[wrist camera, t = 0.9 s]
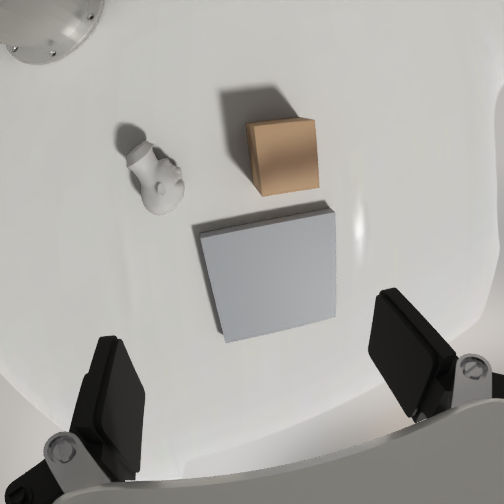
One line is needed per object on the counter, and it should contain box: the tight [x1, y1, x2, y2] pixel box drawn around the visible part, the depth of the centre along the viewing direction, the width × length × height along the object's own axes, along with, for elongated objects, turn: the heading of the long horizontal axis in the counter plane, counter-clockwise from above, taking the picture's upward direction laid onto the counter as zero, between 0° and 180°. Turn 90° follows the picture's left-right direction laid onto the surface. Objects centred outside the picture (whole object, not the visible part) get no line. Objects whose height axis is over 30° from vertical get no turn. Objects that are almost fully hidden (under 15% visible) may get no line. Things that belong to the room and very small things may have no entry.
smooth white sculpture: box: [126, 141, 184, 215], centre depth 32 cm, size 4×8×5 cm
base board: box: [200, 208, 336, 343], centre depth 41 cm, size 16×16×2 cm
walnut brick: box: [246, 117, 319, 197], centre depth 32 cm, size 7×6×5 cm
